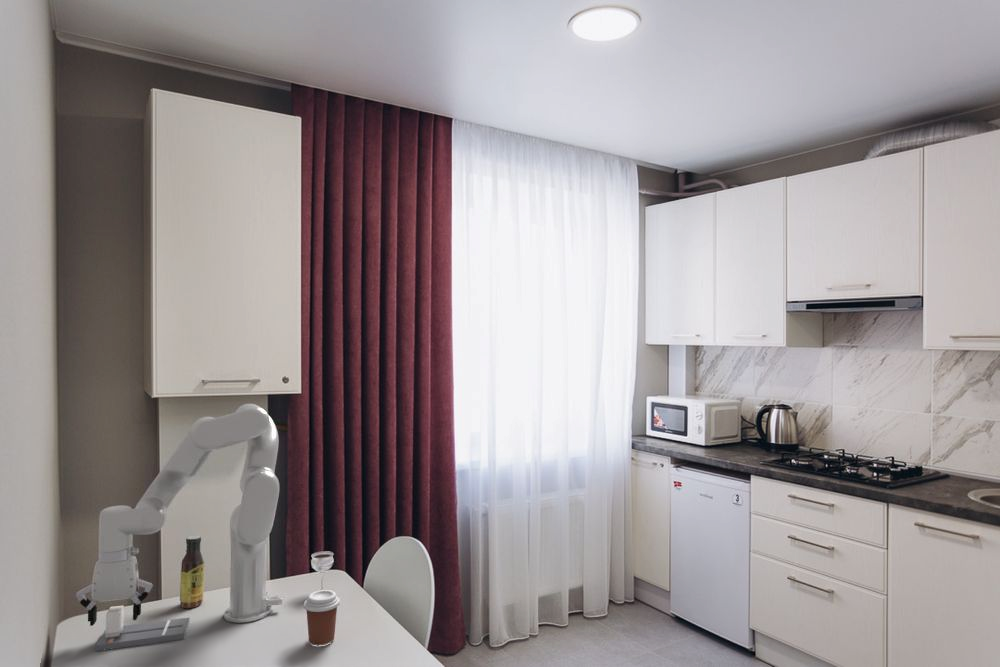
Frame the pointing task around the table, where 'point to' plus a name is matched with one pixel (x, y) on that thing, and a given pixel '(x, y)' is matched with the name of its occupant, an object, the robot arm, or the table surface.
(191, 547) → the sauce bottle
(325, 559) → the wineglass
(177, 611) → the table surface
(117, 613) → the fader
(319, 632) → the coffee cup
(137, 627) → the grey slider base
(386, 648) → the table surface
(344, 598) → the table surface
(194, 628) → the table surface
